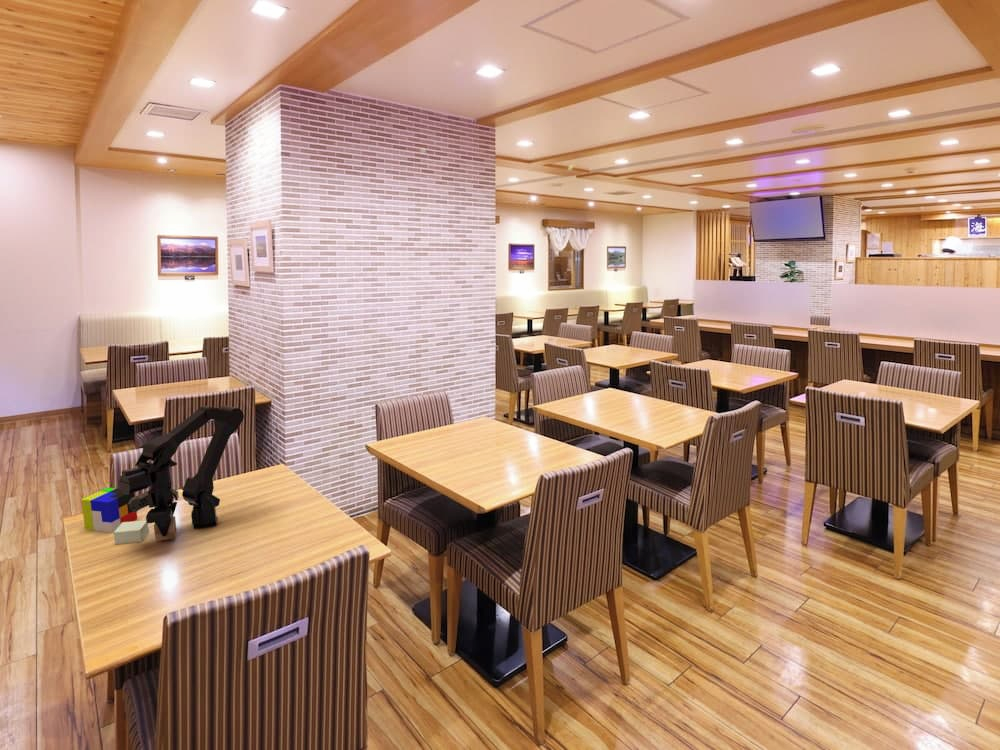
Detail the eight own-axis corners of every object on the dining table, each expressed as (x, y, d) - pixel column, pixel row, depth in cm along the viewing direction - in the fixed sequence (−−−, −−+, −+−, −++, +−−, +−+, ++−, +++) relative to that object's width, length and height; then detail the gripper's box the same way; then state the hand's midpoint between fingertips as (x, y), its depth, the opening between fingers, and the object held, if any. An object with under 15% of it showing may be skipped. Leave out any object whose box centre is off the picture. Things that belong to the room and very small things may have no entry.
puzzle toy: (112, 532, 188) (108, 502, 186) (85, 529, 190) (81, 499, 188) (137, 519, 198) (134, 490, 196) (111, 516, 200) (107, 487, 198)
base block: (148, 532, 189) (147, 520, 188) (141, 542, 183) (139, 530, 182) (123, 534, 188) (122, 522, 187) (115, 544, 181) (113, 532, 180)
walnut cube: (176, 531, 187) (175, 516, 186) (174, 538, 182) (172, 522, 181) (158, 533, 185) (156, 518, 184) (155, 541, 180) (153, 525, 180)
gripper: (135, 475, 186) (141, 523, 189) (122, 498, 169) (128, 550, 172) (176, 471, 190) (181, 518, 193) (167, 493, 173) (173, 544, 176)
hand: (165, 532), depth 183 cm, fingers closed on walnut cube, 5 cm apart
